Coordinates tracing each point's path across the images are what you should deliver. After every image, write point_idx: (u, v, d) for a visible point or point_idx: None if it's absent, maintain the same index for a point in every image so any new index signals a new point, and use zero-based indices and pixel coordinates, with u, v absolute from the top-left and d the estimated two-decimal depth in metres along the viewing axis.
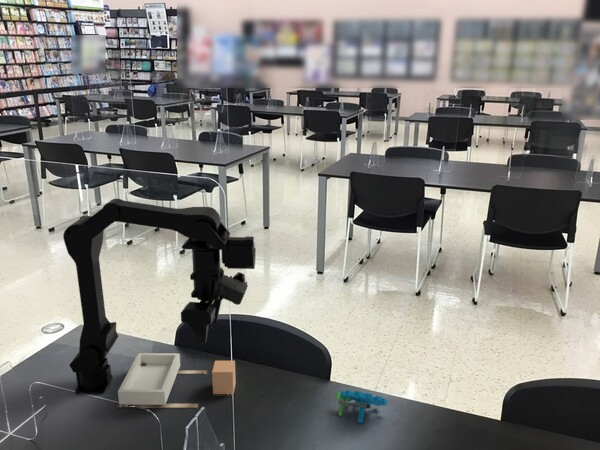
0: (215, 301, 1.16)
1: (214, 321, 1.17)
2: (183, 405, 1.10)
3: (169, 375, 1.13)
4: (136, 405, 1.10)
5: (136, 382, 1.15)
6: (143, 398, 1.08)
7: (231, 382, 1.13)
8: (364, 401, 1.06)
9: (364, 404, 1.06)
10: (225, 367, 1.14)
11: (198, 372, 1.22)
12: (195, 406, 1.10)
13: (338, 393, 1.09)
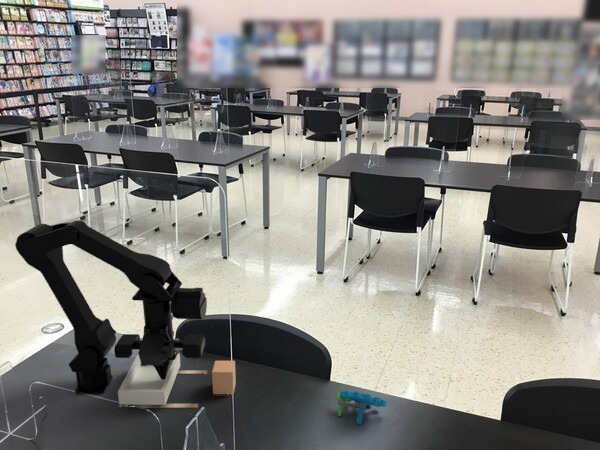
0: None
1: None
2: (183, 405, 1.10)
3: (169, 375, 1.13)
4: (136, 405, 1.10)
5: (136, 382, 1.15)
6: (143, 398, 1.08)
7: (231, 382, 1.13)
8: (363, 402, 1.06)
9: (363, 405, 1.06)
10: (225, 367, 1.14)
11: (198, 372, 1.22)
12: (195, 406, 1.10)
13: (338, 393, 1.09)
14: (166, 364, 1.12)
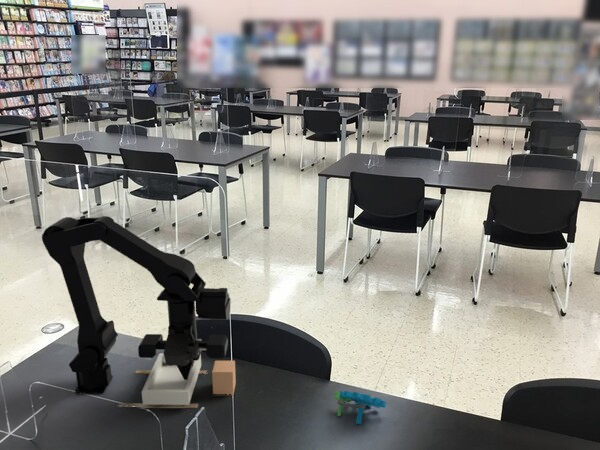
0: None
1: None
2: (183, 405, 1.10)
3: (192, 375, 1.13)
4: (136, 405, 1.10)
5: (158, 382, 1.15)
6: (167, 398, 1.08)
7: (231, 382, 1.13)
8: (363, 402, 1.06)
9: (363, 405, 1.06)
10: (225, 367, 1.14)
11: None
12: (195, 406, 1.10)
13: (337, 393, 1.09)
14: (189, 364, 1.13)
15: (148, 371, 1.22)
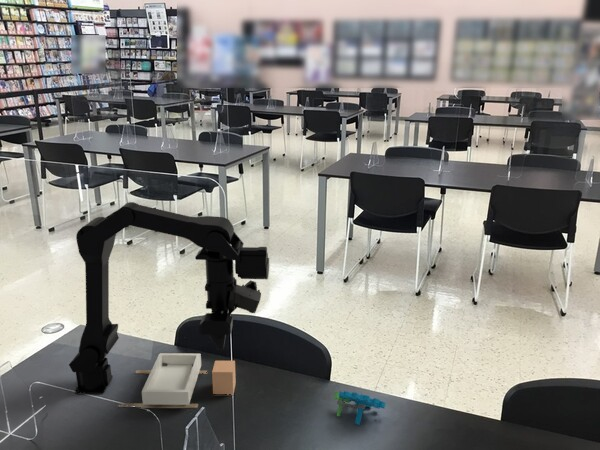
0: None
1: None
2: (183, 405, 1.10)
3: (192, 375, 1.13)
4: (136, 405, 1.10)
5: (158, 382, 1.15)
6: (167, 398, 1.08)
7: (231, 382, 1.13)
8: (362, 403, 1.06)
9: (362, 406, 1.06)
10: (225, 367, 1.14)
11: None
12: (195, 406, 1.10)
13: (337, 393, 1.09)
14: (230, 315, 1.15)
15: (148, 371, 1.22)
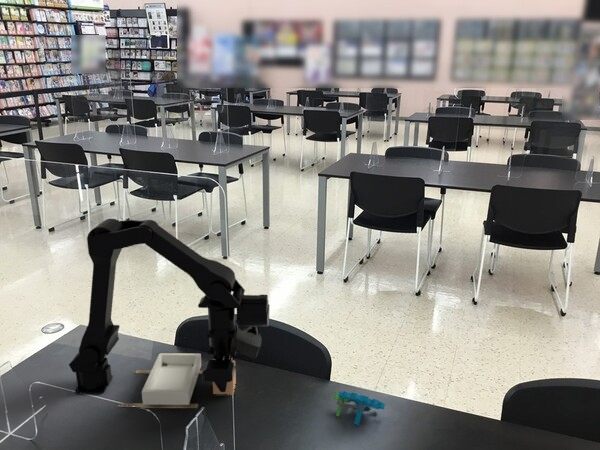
0: None
1: None
2: (183, 405, 1.10)
3: (192, 375, 1.13)
4: (136, 405, 1.10)
5: (158, 382, 1.15)
6: (167, 398, 1.08)
7: (231, 382, 1.13)
8: (362, 403, 1.06)
9: (361, 406, 1.06)
10: None
11: None
12: (195, 406, 1.10)
13: (337, 393, 1.09)
14: (231, 358, 1.18)
15: (148, 371, 1.22)
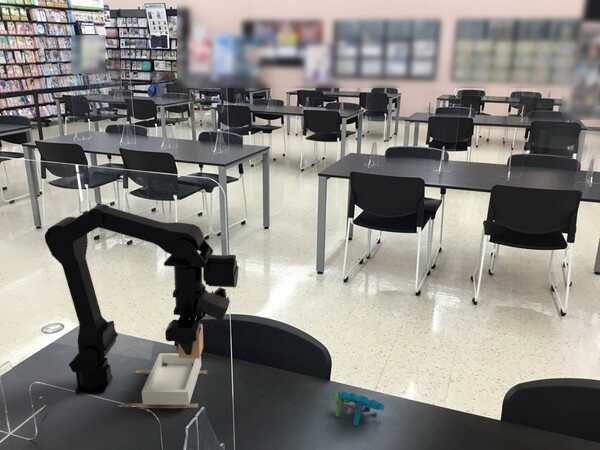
0: None
1: None
2: (183, 405, 1.10)
3: (192, 375, 1.13)
4: (136, 405, 1.10)
5: (158, 382, 1.15)
6: (167, 398, 1.08)
7: (197, 345, 1.10)
8: (361, 404, 1.06)
9: (361, 407, 1.05)
10: None
11: None
12: (195, 406, 1.10)
13: (336, 394, 1.09)
14: (199, 322, 1.15)
15: (148, 371, 1.22)
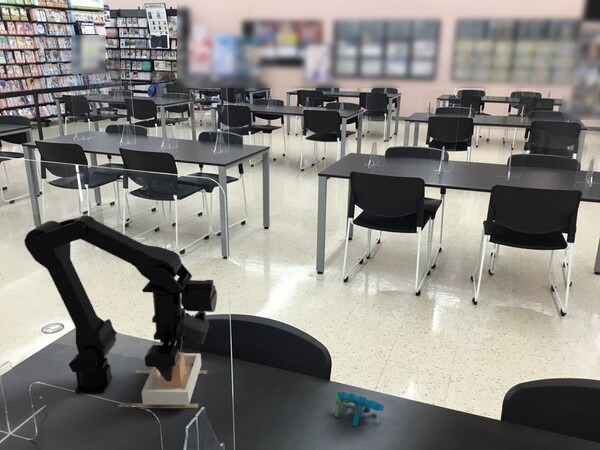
0: (176, 342, 1.17)
1: None
2: (183, 405, 1.10)
3: (192, 375, 1.13)
4: (136, 405, 1.10)
5: (158, 382, 1.15)
6: (167, 398, 1.08)
7: (178, 374, 1.12)
8: (360, 404, 1.05)
9: (360, 407, 1.05)
10: None
11: None
12: (195, 406, 1.10)
13: (336, 394, 1.09)
14: None
15: (148, 371, 1.22)
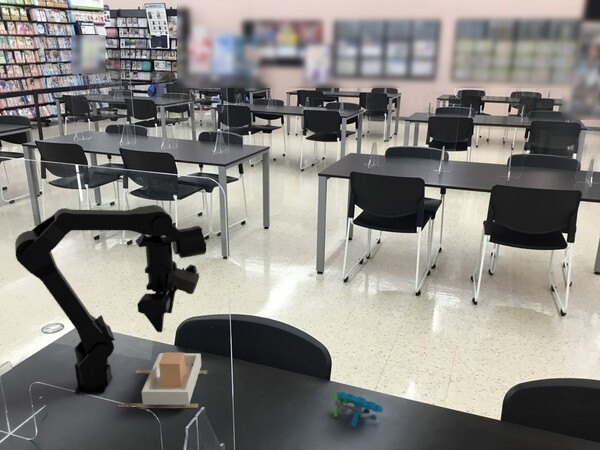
0: (169, 293, 1.24)
1: (169, 312, 1.25)
2: (183, 405, 1.10)
3: (192, 375, 1.13)
4: (136, 405, 1.10)
5: (158, 382, 1.15)
6: (167, 398, 1.08)
7: (178, 374, 1.12)
8: (359, 405, 1.05)
9: (359, 408, 1.05)
10: (173, 358, 1.13)
11: None
12: (195, 406, 1.10)
13: (336, 394, 1.09)
14: (174, 294, 1.25)
15: (148, 371, 1.22)
